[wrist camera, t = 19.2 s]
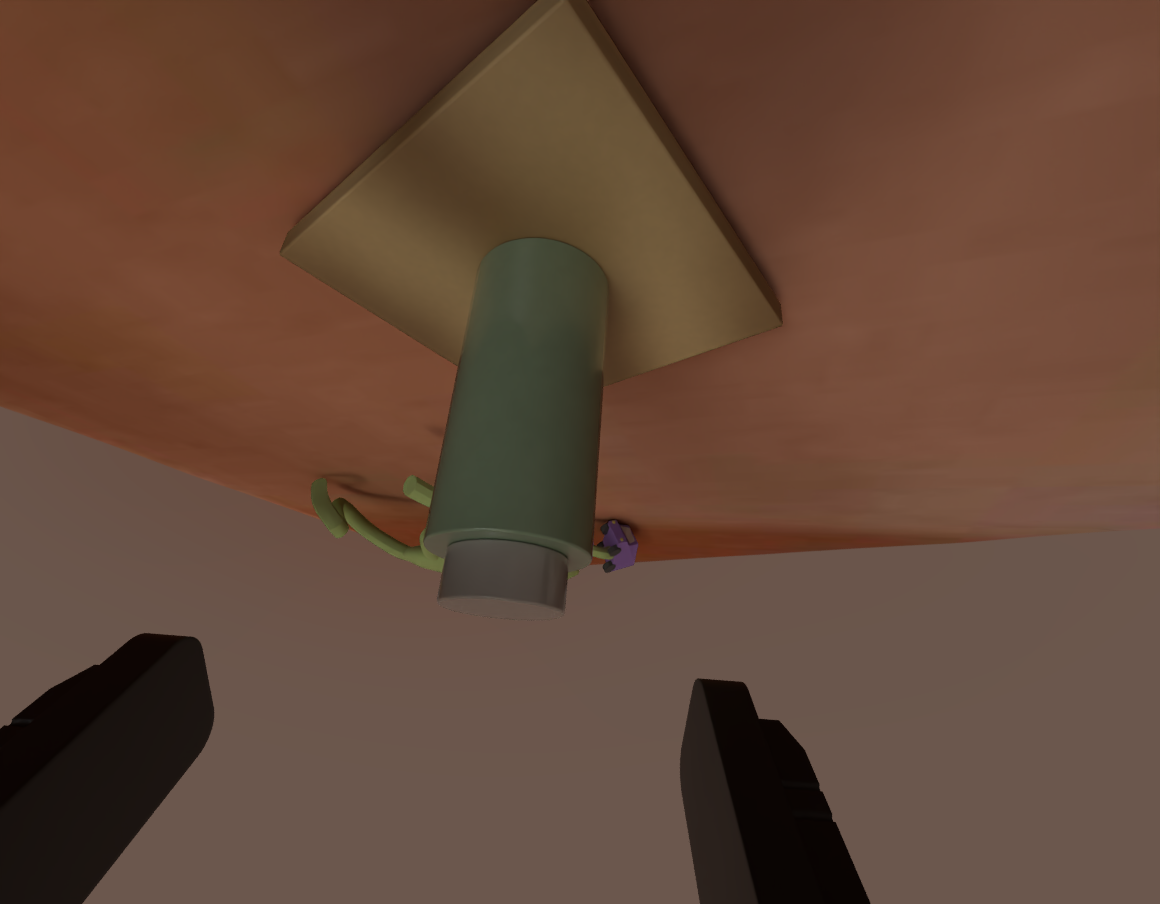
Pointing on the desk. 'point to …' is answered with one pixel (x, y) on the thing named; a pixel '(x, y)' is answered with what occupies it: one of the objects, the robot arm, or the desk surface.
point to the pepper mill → (522, 434)
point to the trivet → (540, 202)
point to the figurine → (338, 513)
